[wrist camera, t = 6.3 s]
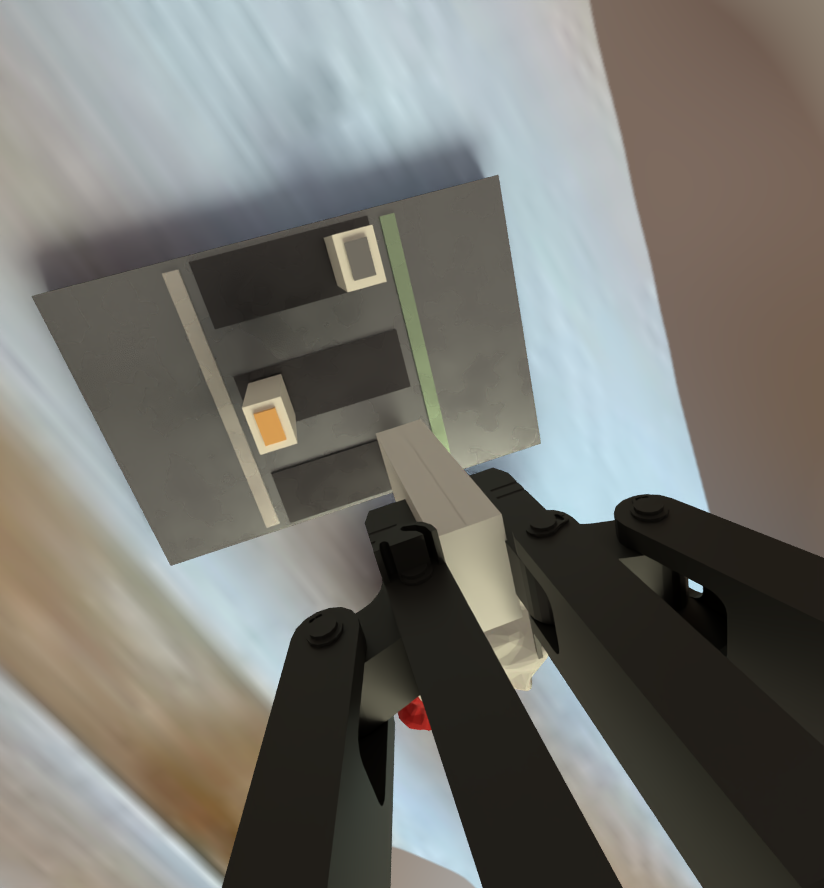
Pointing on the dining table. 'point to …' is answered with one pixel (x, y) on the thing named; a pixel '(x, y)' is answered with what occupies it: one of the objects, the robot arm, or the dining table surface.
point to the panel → (301, 364)
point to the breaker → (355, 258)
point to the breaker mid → (270, 414)
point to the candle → (514, 656)
